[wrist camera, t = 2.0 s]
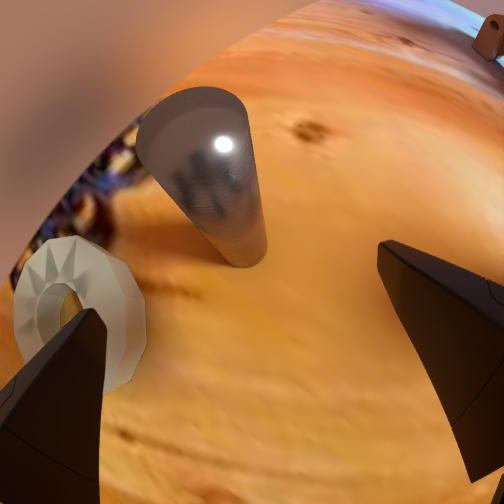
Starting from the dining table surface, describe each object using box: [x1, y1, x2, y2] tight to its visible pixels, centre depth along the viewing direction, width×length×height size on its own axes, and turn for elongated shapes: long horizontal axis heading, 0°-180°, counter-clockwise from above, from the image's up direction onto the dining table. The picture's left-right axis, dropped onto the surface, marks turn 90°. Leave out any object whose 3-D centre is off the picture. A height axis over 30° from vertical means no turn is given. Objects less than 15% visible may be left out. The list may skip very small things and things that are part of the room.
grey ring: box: [13, 235, 147, 396], centre depth 18 cm, size 12×12×3 cm
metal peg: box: [136, 87, 267, 268], centre depth 13 cm, size 3×3×13 cm
